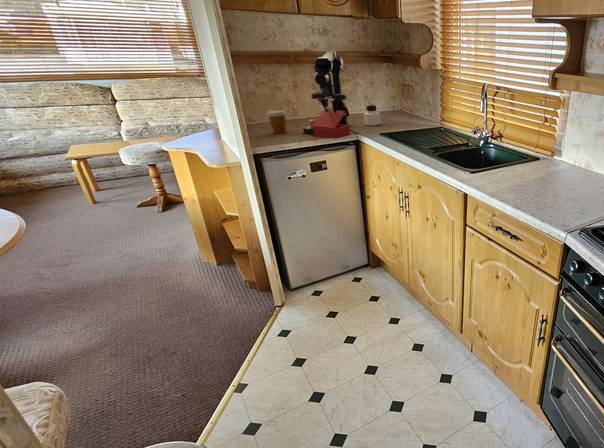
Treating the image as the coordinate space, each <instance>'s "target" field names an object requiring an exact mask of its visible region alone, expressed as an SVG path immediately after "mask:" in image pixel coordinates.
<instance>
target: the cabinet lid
mask: <svg viewBox="0 0 604 448" xmlns="http://www.w3.org/2000/svg"><path fill="white" fill-rule="evenodd" d="M325 108H326V109H327V110H328V112H326V110H325V109H324V108H323V109H322V111H321V113H320V114H319V116H318V117H317V118H316V119H317V120H316V121H315V123H314V124H313V127H319V128H328V129H335V128H336V126H337V125H338V123H339V122H340V120H341V119H342V117H343V116H344V114H345V113H346V111H338V110H337V111H336V113H334V110H333V107H332V106H330V105H328V106H326V107H325Z"/></svg>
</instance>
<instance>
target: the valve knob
mask: <svg viewBox="0 0 604 448" xmlns="http://www.w3.org/2000/svg"><path fill="white" fill-rule="evenodd" d="M316 120H317V118H313V119H308V123H309V126H310V128H313V124H314V123H315V121H316Z"/></svg>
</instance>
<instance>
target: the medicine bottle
mask: <svg viewBox="0 0 604 448" xmlns="http://www.w3.org/2000/svg"><path fill="white" fill-rule="evenodd" d="M365 109H366V112H364V113H363V121H364V125H365V126H371V127H373V126H379V125H381V123H382V122H381V113H380V112H377V106H376V105H375V104H367V105H365Z"/></svg>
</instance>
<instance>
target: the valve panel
mask: <svg viewBox="0 0 604 448" xmlns="http://www.w3.org/2000/svg"><path fill="white" fill-rule="evenodd" d="M302 130H303V134H304V135H313V136H314V132H313V128H310V125H308V126H307V127H303V128H302Z"/></svg>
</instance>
